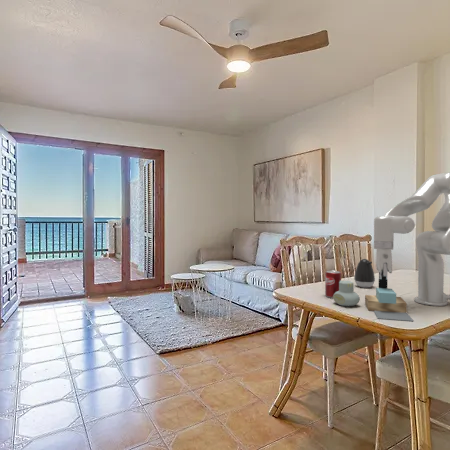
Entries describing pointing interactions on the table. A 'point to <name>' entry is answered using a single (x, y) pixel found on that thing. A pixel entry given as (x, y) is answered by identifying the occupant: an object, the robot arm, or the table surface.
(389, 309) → the oak deck
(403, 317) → the grey mat
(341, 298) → the air freshener
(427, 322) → the table surface
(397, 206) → the robot arm
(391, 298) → the teal box
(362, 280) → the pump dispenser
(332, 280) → the soda can
